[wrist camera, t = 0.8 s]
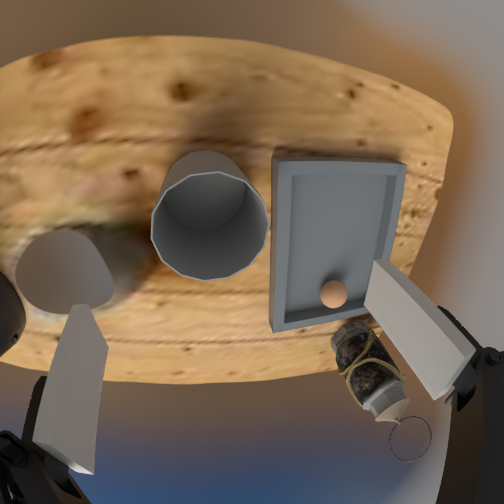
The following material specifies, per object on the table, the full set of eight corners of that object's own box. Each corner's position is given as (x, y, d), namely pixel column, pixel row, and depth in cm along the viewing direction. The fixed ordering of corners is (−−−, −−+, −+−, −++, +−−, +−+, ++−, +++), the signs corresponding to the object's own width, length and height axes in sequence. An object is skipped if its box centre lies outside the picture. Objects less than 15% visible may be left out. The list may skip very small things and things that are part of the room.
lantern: (346, 355, 47) (407, 467, 26) (315, 349, 44) (378, 480, 23) (377, 321, 44) (454, 434, 23) (348, 311, 41) (433, 445, 20)
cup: (243, 146, 26) (269, 166, 18) (246, 222, 31) (270, 272, 22) (157, 156, 25) (140, 181, 17) (169, 232, 29) (162, 286, 21)
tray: (268, 320, 38) (273, 332, 36) (271, 157, 27) (278, 161, 25) (367, 301, 41) (374, 311, 39) (394, 160, 30) (406, 164, 28)
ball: (314, 299, 37) (324, 316, 34) (317, 277, 35) (328, 293, 32) (337, 294, 38) (349, 310, 35) (342, 273, 36) (354, 288, 33)
